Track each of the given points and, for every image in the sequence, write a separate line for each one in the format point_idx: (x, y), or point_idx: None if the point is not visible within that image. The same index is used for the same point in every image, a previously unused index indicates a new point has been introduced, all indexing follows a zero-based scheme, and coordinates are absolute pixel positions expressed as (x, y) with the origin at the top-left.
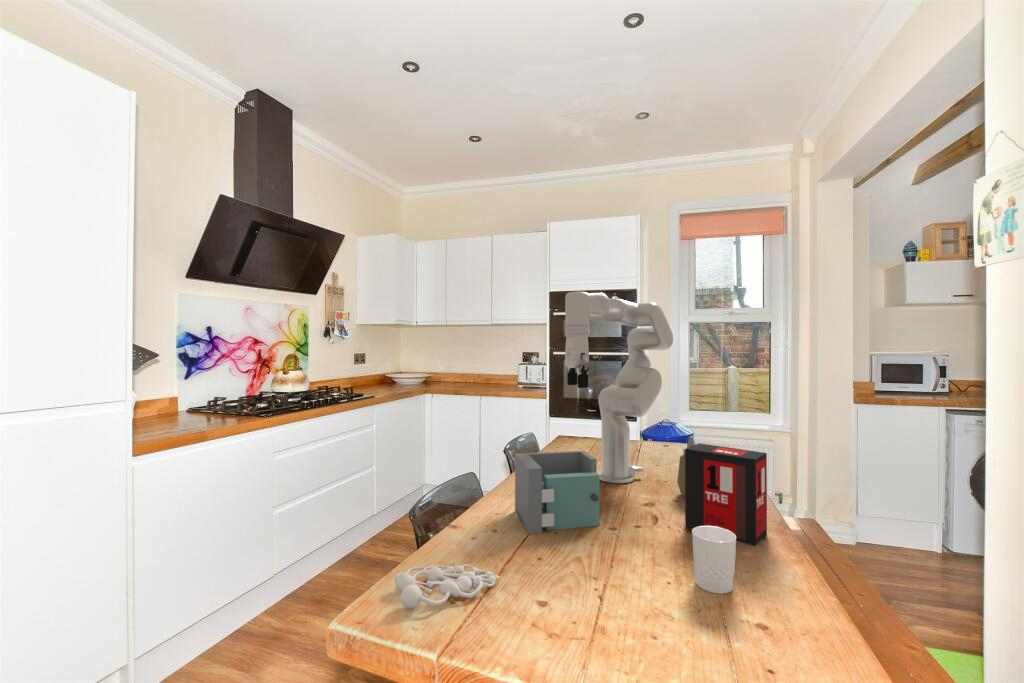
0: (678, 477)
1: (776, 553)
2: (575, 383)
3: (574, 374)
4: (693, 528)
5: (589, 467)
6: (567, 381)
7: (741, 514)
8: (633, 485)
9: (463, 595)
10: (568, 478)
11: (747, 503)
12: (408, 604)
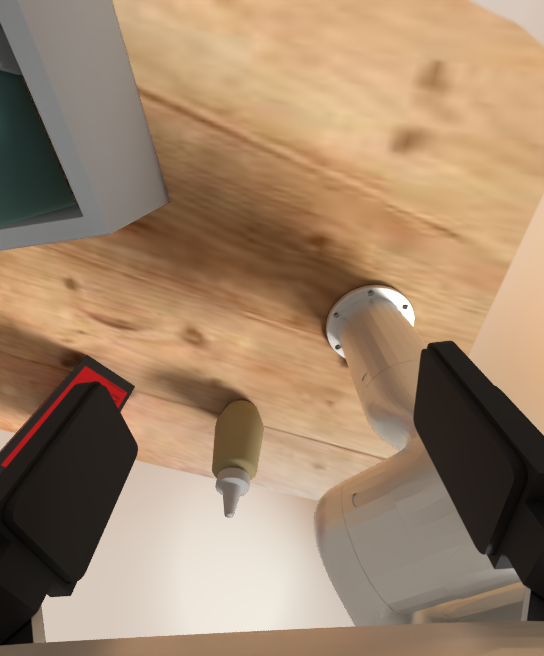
0: (240, 420)
1: (22, 418)
2: (419, 417)
3: (476, 511)
4: (79, 363)
5: (14, 224)
6: (467, 360)
7: (20, 428)
8: (312, 344)
9: None
10: None
11: (2, 448)
12: None
